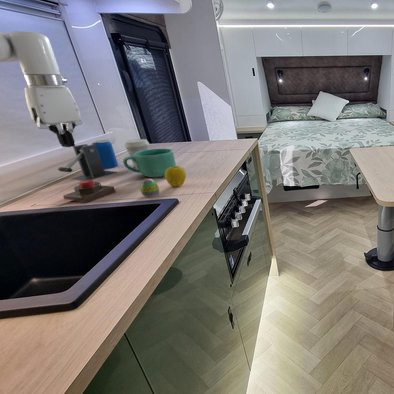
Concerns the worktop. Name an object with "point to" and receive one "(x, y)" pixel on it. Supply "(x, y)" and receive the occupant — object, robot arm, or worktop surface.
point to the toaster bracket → (90, 163)
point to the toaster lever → (72, 162)
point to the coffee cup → (136, 147)
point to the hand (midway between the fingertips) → (68, 146)
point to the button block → (89, 193)
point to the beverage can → (106, 153)
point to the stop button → (86, 183)
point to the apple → (175, 175)
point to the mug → (152, 162)
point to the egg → (149, 188)
